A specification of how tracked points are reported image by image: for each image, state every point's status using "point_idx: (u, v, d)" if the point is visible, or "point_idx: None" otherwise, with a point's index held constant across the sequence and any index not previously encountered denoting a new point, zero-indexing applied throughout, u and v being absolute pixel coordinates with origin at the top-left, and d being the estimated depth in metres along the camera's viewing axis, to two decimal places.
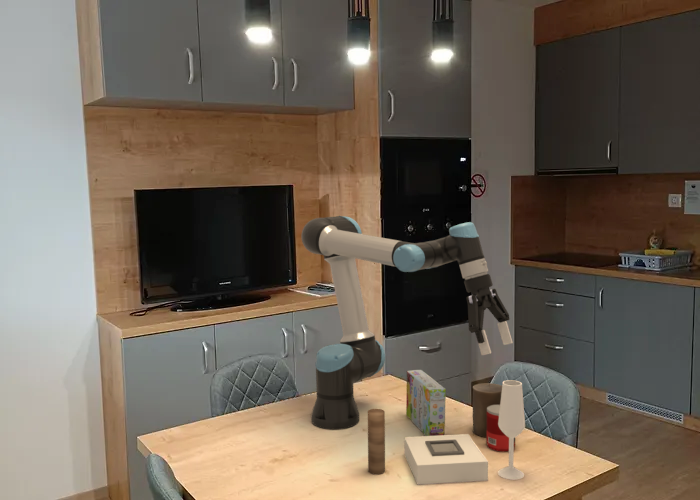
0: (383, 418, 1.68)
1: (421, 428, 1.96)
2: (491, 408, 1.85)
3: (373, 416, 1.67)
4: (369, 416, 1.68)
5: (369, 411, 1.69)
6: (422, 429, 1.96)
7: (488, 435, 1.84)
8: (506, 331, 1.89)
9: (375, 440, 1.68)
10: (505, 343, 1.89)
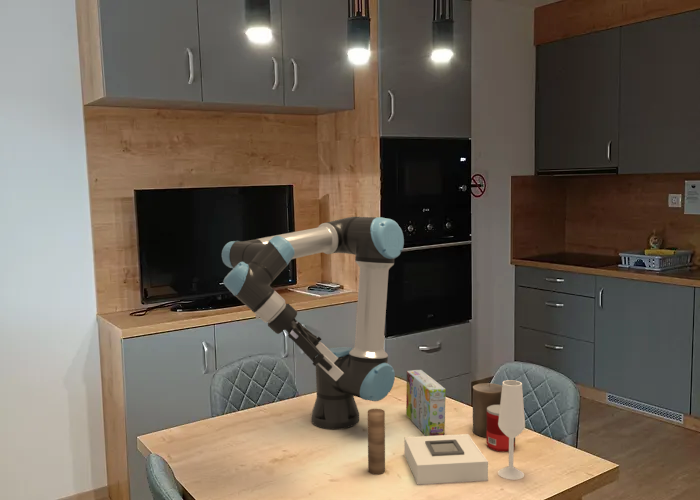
0: (383, 418, 1.68)
1: (421, 428, 1.96)
2: (491, 408, 1.85)
3: (373, 416, 1.67)
4: (369, 416, 1.68)
5: (369, 411, 1.69)
6: (422, 429, 1.96)
7: (488, 435, 1.84)
8: None
9: (375, 440, 1.68)
10: None
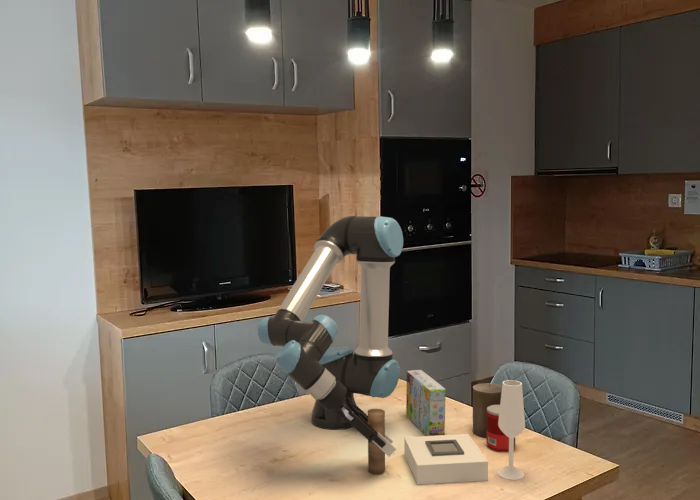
0: (383, 418, 1.68)
1: (421, 428, 1.96)
2: (491, 408, 1.85)
3: (373, 416, 1.67)
4: (369, 416, 1.68)
5: (369, 411, 1.69)
6: (422, 429, 1.96)
7: (488, 435, 1.84)
8: None
9: None
10: None
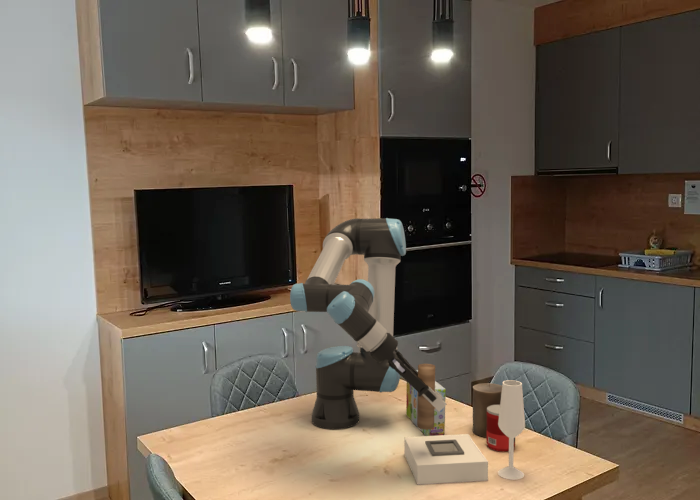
0: (434, 373, 1.66)
1: None
2: (491, 408, 1.85)
3: (424, 370, 1.65)
4: (419, 370, 1.66)
5: (419, 365, 1.67)
6: (422, 429, 1.96)
7: (488, 435, 1.84)
8: None
9: None
10: None
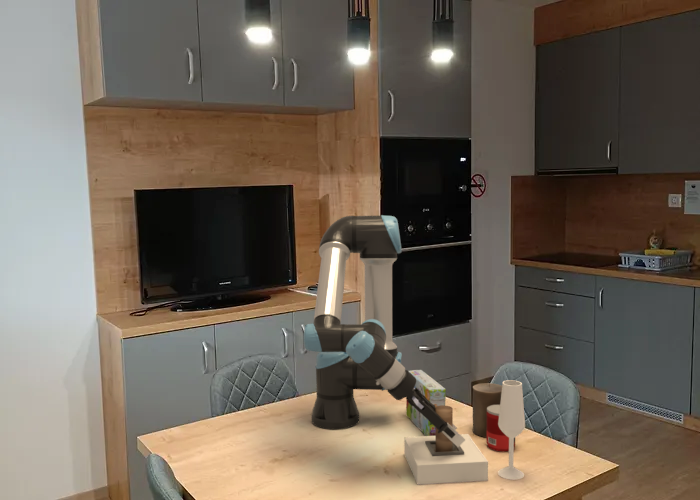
0: (451, 415, 1.70)
1: (421, 428, 1.96)
2: (491, 408, 1.85)
3: (442, 413, 1.69)
4: (437, 413, 1.70)
5: (437, 408, 1.71)
6: (422, 429, 1.96)
7: (488, 435, 1.84)
8: None
9: (443, 436, 1.69)
10: None
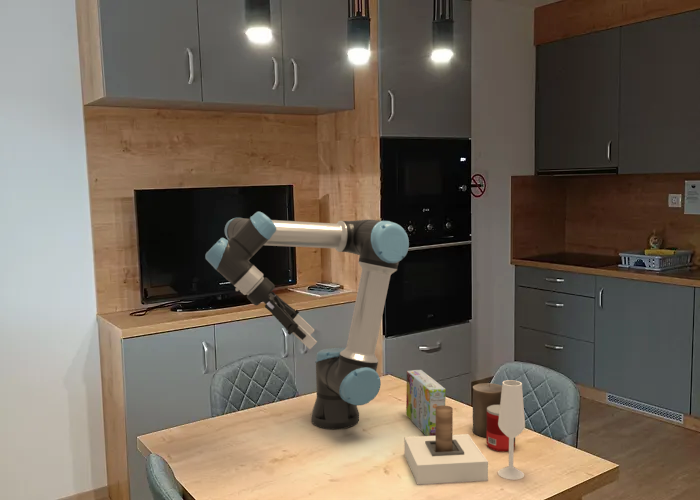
0: (451, 415, 1.70)
1: (421, 428, 1.96)
2: (491, 408, 1.85)
3: (442, 413, 1.69)
4: (437, 413, 1.70)
5: (437, 408, 1.71)
6: (422, 429, 1.96)
7: (488, 435, 1.84)
8: None
9: (443, 436, 1.69)
10: None
